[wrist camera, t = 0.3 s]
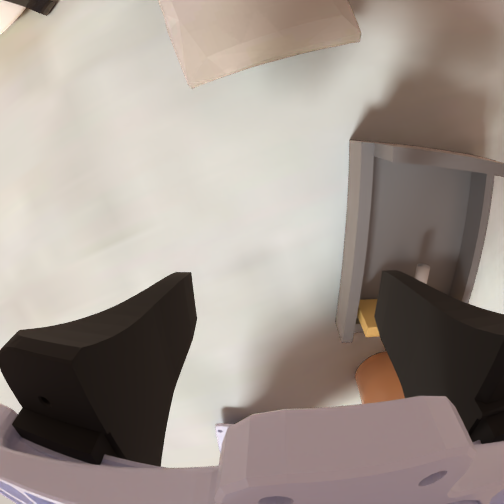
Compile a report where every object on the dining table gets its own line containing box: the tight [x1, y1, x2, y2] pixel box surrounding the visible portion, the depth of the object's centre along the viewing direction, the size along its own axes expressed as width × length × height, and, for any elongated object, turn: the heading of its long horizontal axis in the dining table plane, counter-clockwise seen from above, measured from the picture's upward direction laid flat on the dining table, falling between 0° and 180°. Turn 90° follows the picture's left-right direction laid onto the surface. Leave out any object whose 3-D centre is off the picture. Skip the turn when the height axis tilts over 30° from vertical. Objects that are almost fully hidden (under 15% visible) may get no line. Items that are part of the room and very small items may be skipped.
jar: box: [355, 352, 405, 404], centre depth 22 cm, size 5×5×8 cm
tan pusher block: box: [357, 264, 430, 337], centre depth 20 cm, size 4×8×4 cm, turn 91°
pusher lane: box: [335, 140, 504, 343], centre depth 19 cm, size 14×11×6 cm
